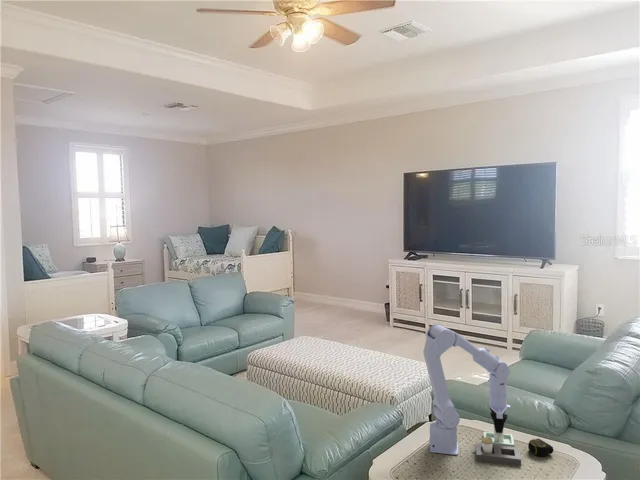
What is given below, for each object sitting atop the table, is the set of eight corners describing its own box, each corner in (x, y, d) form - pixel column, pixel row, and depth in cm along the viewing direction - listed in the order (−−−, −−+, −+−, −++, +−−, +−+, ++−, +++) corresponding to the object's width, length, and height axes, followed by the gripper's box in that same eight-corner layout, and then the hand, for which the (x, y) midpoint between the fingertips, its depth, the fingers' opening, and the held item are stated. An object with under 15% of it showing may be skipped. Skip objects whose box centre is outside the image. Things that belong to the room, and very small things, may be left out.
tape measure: (554, 456, 164) (554, 445, 164) (538, 459, 162) (538, 449, 162) (539, 446, 171) (539, 436, 170) (523, 450, 169) (523, 440, 168)
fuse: (482, 458, 164) (482, 441, 164) (482, 453, 167) (482, 436, 167) (492, 459, 163) (492, 442, 163) (492, 454, 166) (492, 437, 166)
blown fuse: (494, 442, 173) (494, 426, 173) (493, 438, 177) (493, 422, 176) (504, 443, 172) (504, 427, 172) (503, 439, 175) (503, 423, 175)
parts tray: (484, 446, 172) (484, 441, 172) (483, 435, 180) (483, 431, 180) (514, 449, 169) (514, 444, 169) (512, 438, 177) (512, 434, 177)
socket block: (476, 460, 162) (476, 454, 162) (475, 449, 170) (475, 443, 170) (521, 465, 158) (521, 459, 158) (518, 453, 166) (518, 447, 166)
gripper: (511, 401, 165) (512, 440, 166) (508, 386, 179) (508, 422, 180) (490, 400, 167) (490, 438, 168) (488, 385, 181) (488, 420, 182)
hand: (498, 429), depth 174 cm, fingers open, 4 cm apart
